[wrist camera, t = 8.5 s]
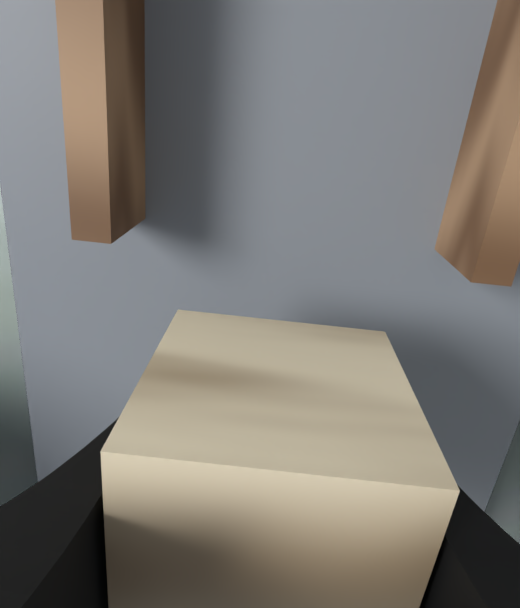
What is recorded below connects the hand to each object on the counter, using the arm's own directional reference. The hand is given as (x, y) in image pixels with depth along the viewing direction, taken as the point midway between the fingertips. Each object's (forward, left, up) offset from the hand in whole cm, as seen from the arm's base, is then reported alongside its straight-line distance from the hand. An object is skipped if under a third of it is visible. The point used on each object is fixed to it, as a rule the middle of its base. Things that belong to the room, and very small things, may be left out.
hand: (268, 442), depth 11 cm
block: (0, 0, -1) cm, 1 cm away
